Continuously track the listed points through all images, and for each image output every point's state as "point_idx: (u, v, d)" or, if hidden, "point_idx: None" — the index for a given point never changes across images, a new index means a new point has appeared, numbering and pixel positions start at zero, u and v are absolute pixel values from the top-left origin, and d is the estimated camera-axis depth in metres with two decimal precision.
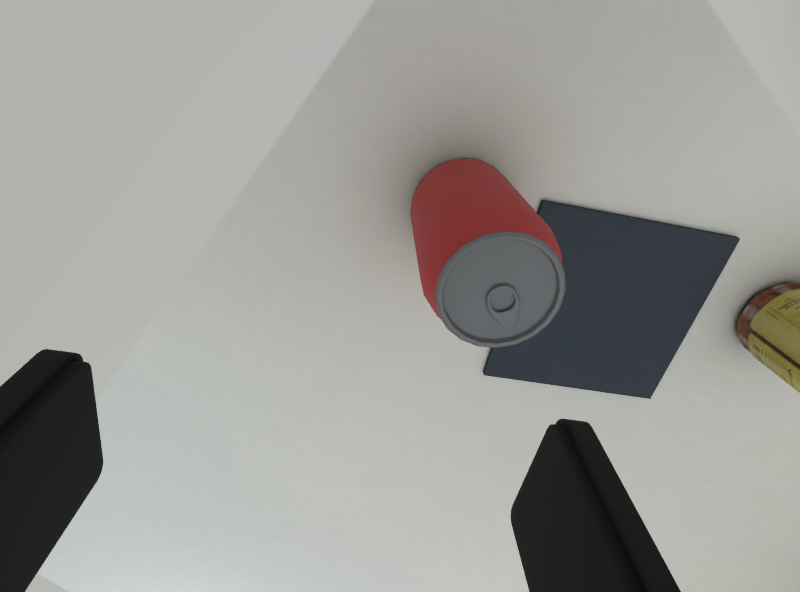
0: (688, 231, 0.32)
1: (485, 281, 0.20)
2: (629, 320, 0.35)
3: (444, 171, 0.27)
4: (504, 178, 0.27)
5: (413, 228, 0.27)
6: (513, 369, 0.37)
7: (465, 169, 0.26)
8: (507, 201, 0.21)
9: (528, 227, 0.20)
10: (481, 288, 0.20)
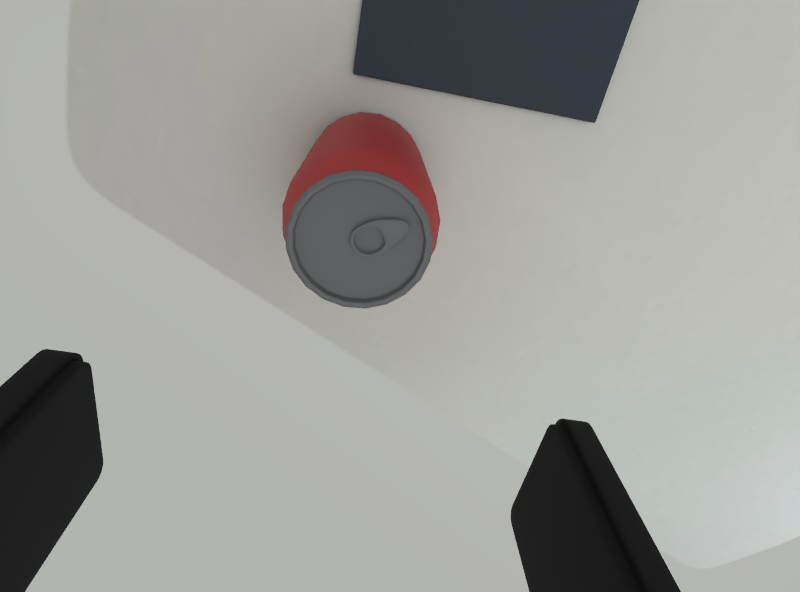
0: None
1: (348, 258, 0.18)
2: None
3: None
4: None
5: None
6: (594, 80, 0.26)
7: None
8: None
9: (289, 211, 0.18)
10: (357, 261, 0.19)
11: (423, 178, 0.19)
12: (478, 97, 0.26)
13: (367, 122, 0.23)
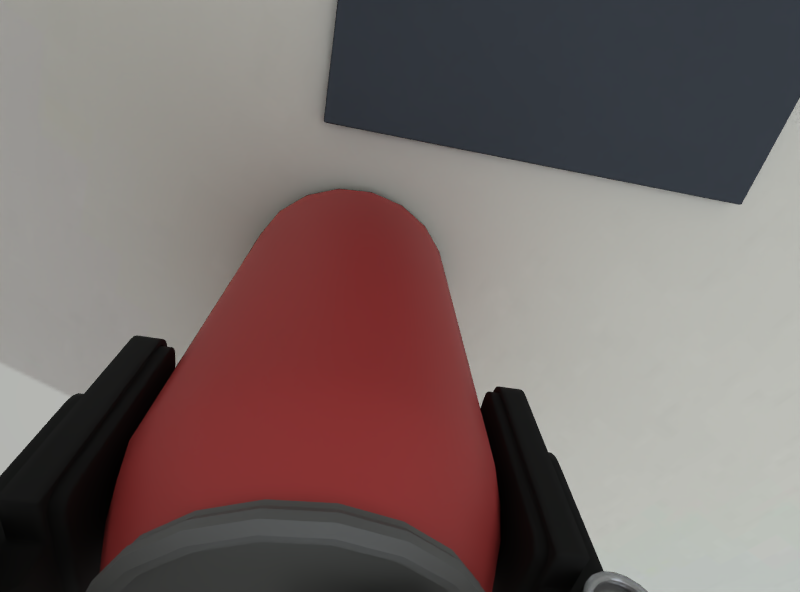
0: None
1: None
2: None
3: None
4: None
5: None
6: (751, 135, 0.15)
7: None
8: None
9: (103, 552, 0.07)
10: None
11: (468, 441, 0.07)
12: (545, 163, 0.15)
13: (343, 228, 0.12)
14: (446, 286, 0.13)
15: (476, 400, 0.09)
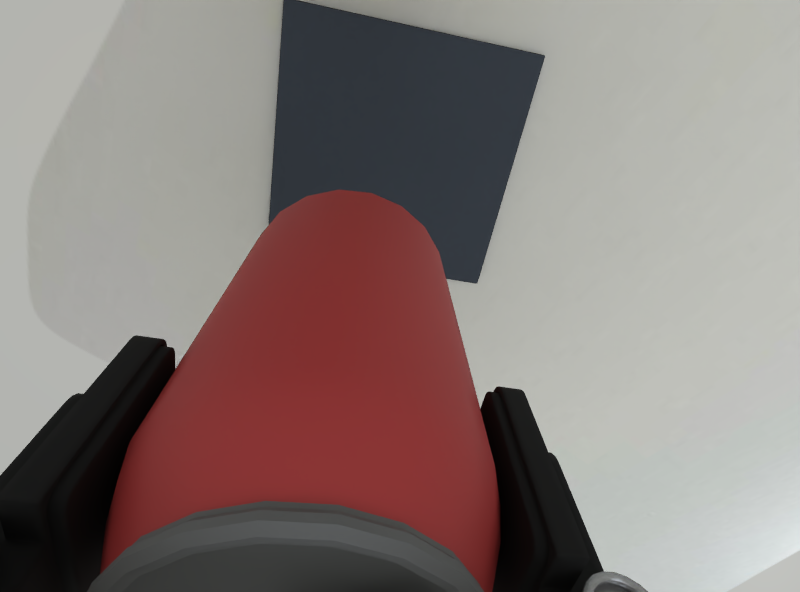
0: (281, 78, 0.26)
1: None
2: (407, 123, 0.27)
3: None
4: (238, 271, 0.13)
5: None
6: (472, 253, 0.31)
7: None
8: None
9: (104, 554, 0.07)
10: None
11: (468, 442, 0.07)
12: None
13: (343, 229, 0.12)
14: (446, 287, 0.13)
15: (476, 401, 0.09)
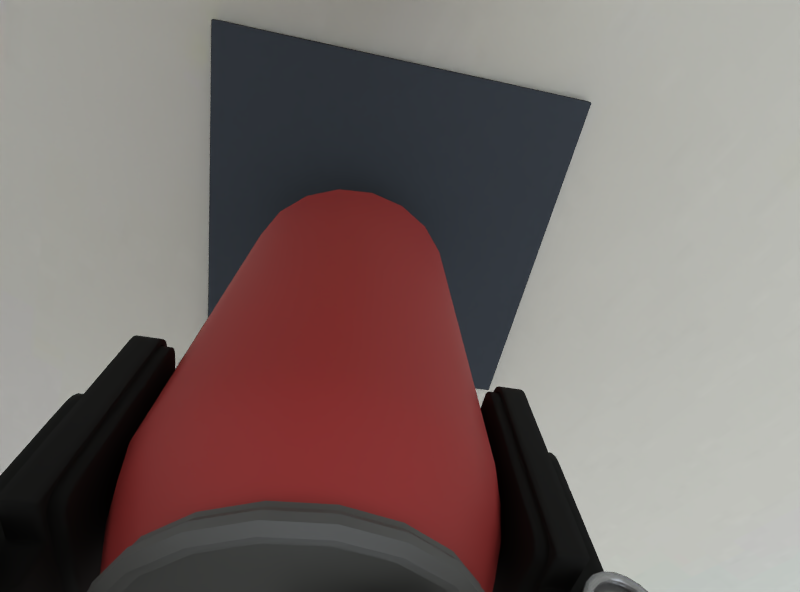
0: (214, 133, 0.18)
1: None
2: (395, 192, 0.19)
3: None
4: (238, 271, 0.13)
5: None
6: (483, 354, 0.23)
7: None
8: None
9: (104, 555, 0.07)
10: None
11: (468, 442, 0.07)
12: None
13: (343, 228, 0.12)
14: (446, 286, 0.13)
15: (476, 401, 0.09)
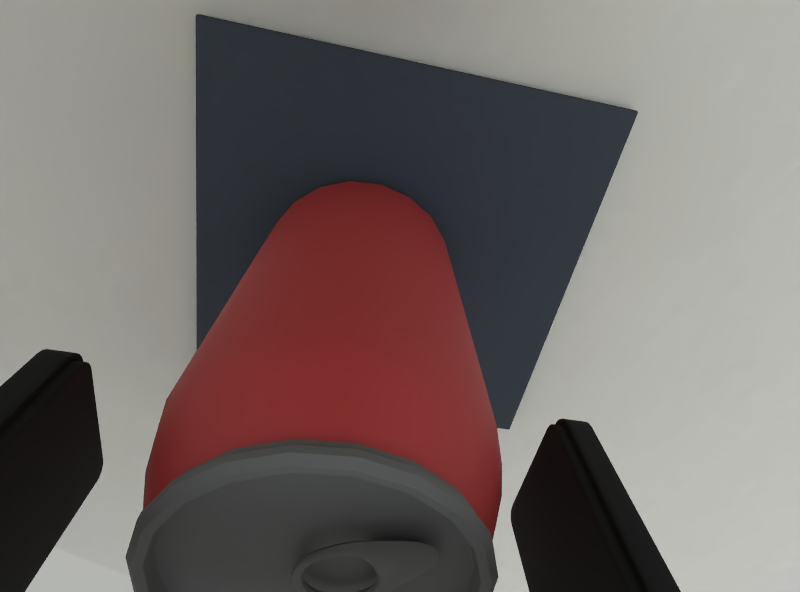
0: (201, 146, 0.16)
1: None
2: None
3: None
4: None
5: None
6: (504, 391, 0.21)
7: None
8: None
9: (146, 495, 0.07)
10: None
11: (472, 401, 0.08)
12: None
13: (355, 215, 0.13)
14: (452, 272, 0.14)
15: (480, 371, 0.10)
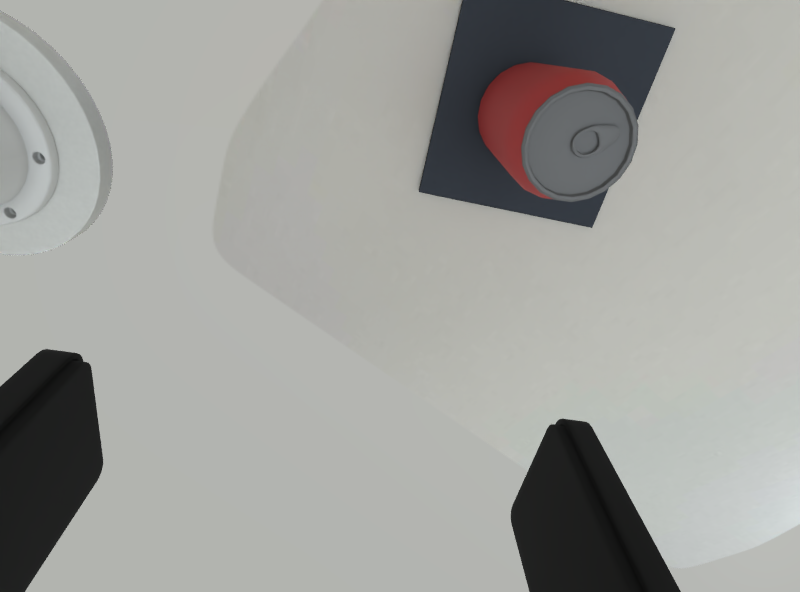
0: (455, 43, 0.31)
1: (565, 158, 0.23)
2: None
3: (485, 140, 0.32)
4: (495, 89, 0.30)
5: None
6: (592, 200, 0.36)
7: (484, 126, 0.31)
8: (503, 124, 0.25)
9: (523, 119, 0.23)
10: (572, 161, 0.24)
11: None
12: (507, 209, 0.37)
13: None
14: None
15: None
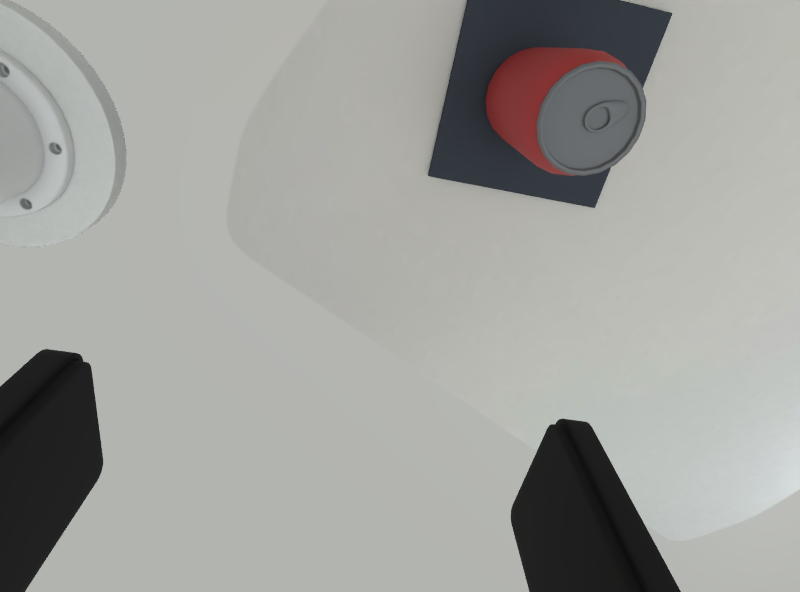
0: (463, 30, 0.33)
1: (578, 134, 0.25)
2: None
3: (494, 123, 0.33)
4: (504, 73, 0.31)
5: None
6: (594, 180, 0.38)
7: (493, 109, 0.32)
8: (517, 103, 0.26)
9: (538, 97, 0.24)
10: (584, 136, 0.25)
11: None
12: (513, 191, 0.38)
13: None
14: None
15: None
